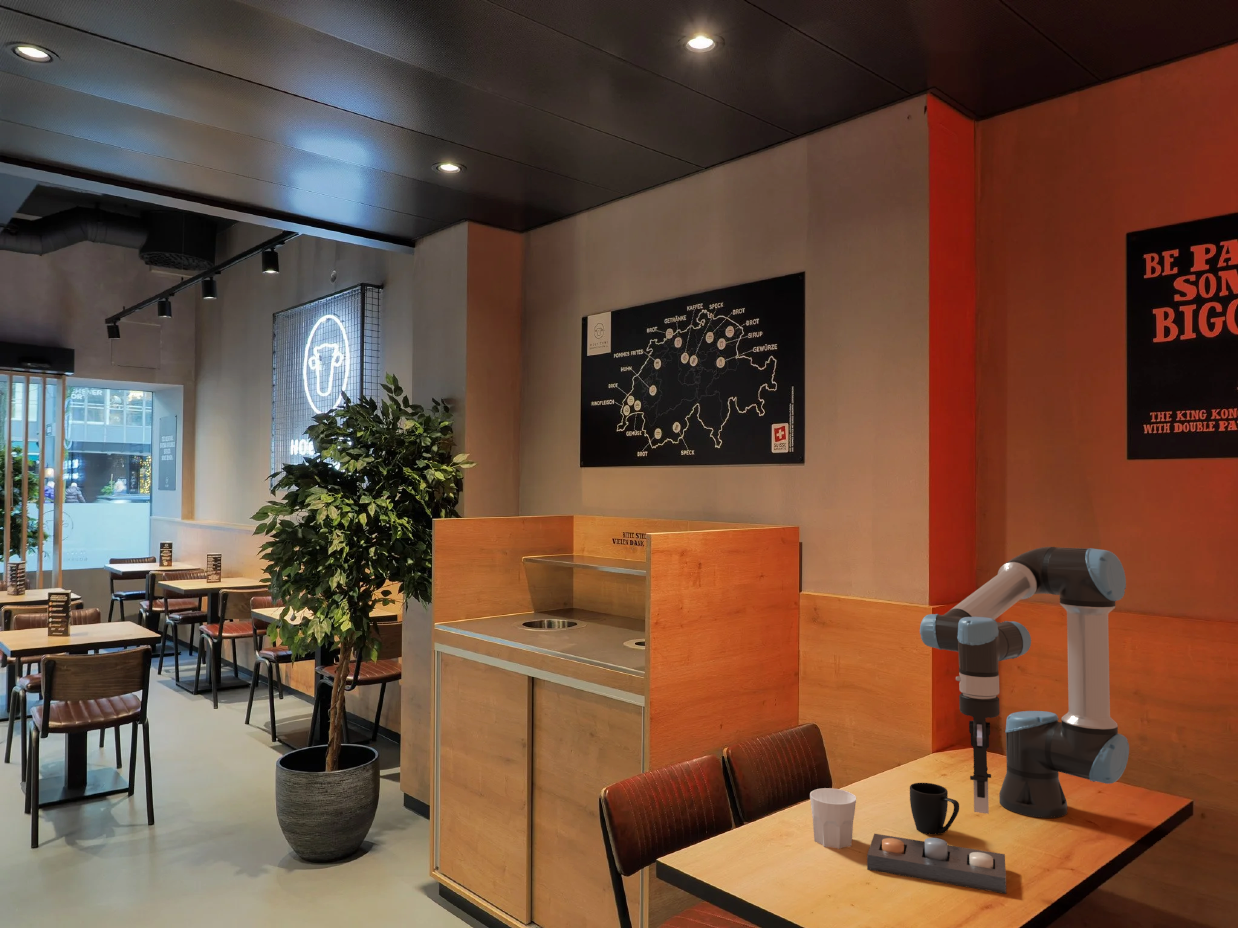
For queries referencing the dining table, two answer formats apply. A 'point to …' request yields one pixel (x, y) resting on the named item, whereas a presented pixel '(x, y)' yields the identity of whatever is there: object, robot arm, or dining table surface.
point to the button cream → (981, 860)
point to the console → (938, 865)
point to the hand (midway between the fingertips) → (981, 811)
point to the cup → (833, 816)
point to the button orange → (893, 845)
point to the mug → (931, 808)
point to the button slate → (936, 849)
